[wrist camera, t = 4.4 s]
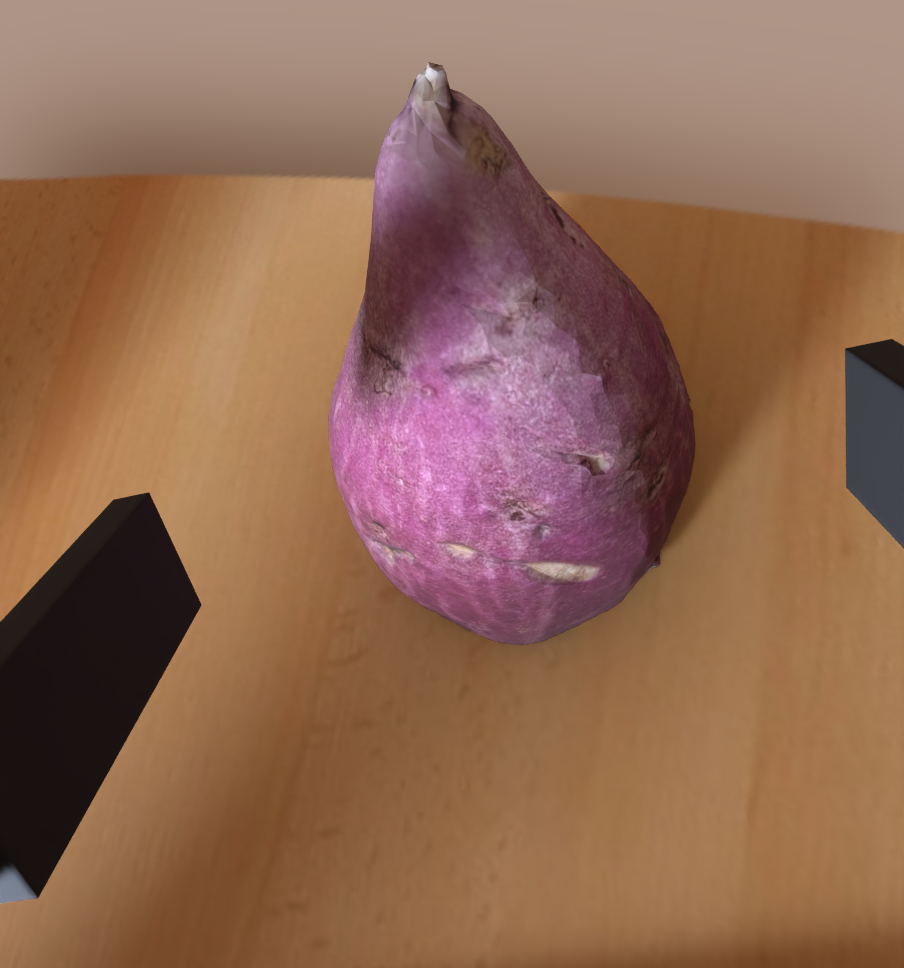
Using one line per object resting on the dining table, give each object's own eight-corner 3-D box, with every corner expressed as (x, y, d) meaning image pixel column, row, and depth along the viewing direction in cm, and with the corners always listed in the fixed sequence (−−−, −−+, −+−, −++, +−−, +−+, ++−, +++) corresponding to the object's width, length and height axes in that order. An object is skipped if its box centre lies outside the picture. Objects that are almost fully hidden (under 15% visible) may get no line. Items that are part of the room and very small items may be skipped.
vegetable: (419, 388, 29) (210, -26, 17) (700, 375, 26) (683, -151, 14) (352, 647, 24) (-12, 312, 12) (693, 675, 21) (656, 246, 9)
